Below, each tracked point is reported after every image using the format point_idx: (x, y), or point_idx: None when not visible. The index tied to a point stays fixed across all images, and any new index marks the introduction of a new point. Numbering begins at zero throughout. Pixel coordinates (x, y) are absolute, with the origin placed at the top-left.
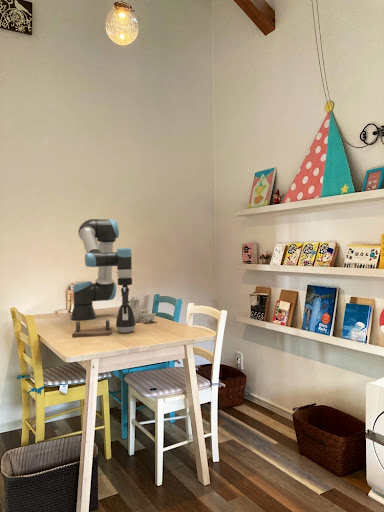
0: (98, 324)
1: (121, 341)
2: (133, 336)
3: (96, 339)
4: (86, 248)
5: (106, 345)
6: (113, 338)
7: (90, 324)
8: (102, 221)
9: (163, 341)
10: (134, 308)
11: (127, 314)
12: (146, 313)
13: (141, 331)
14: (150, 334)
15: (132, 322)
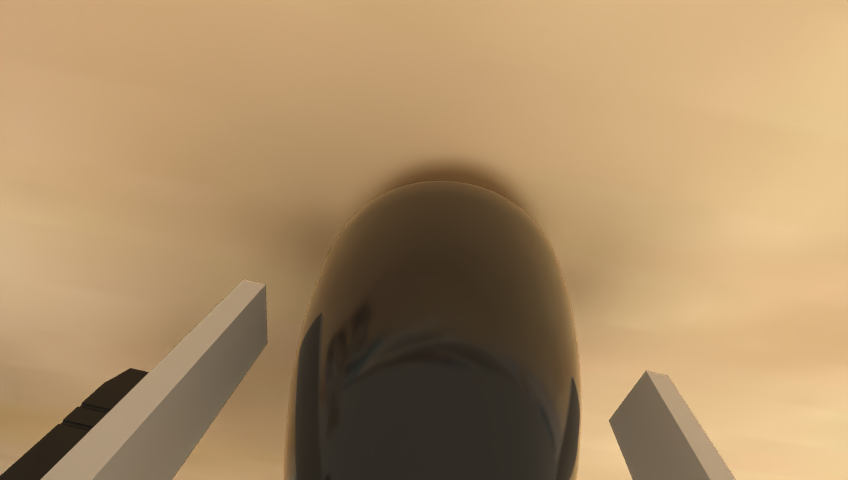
0: (56, 361)
1: (800, 349)
2: (687, 229)
3: (588, 446)
4: None
5: (827, 438)
6: (637, 371)
7: (59, 397)
8: None
9: None
10: None
11: (718, 466)
12: None
13: (482, 93)
14: (741, 16)
15: (557, 263)
